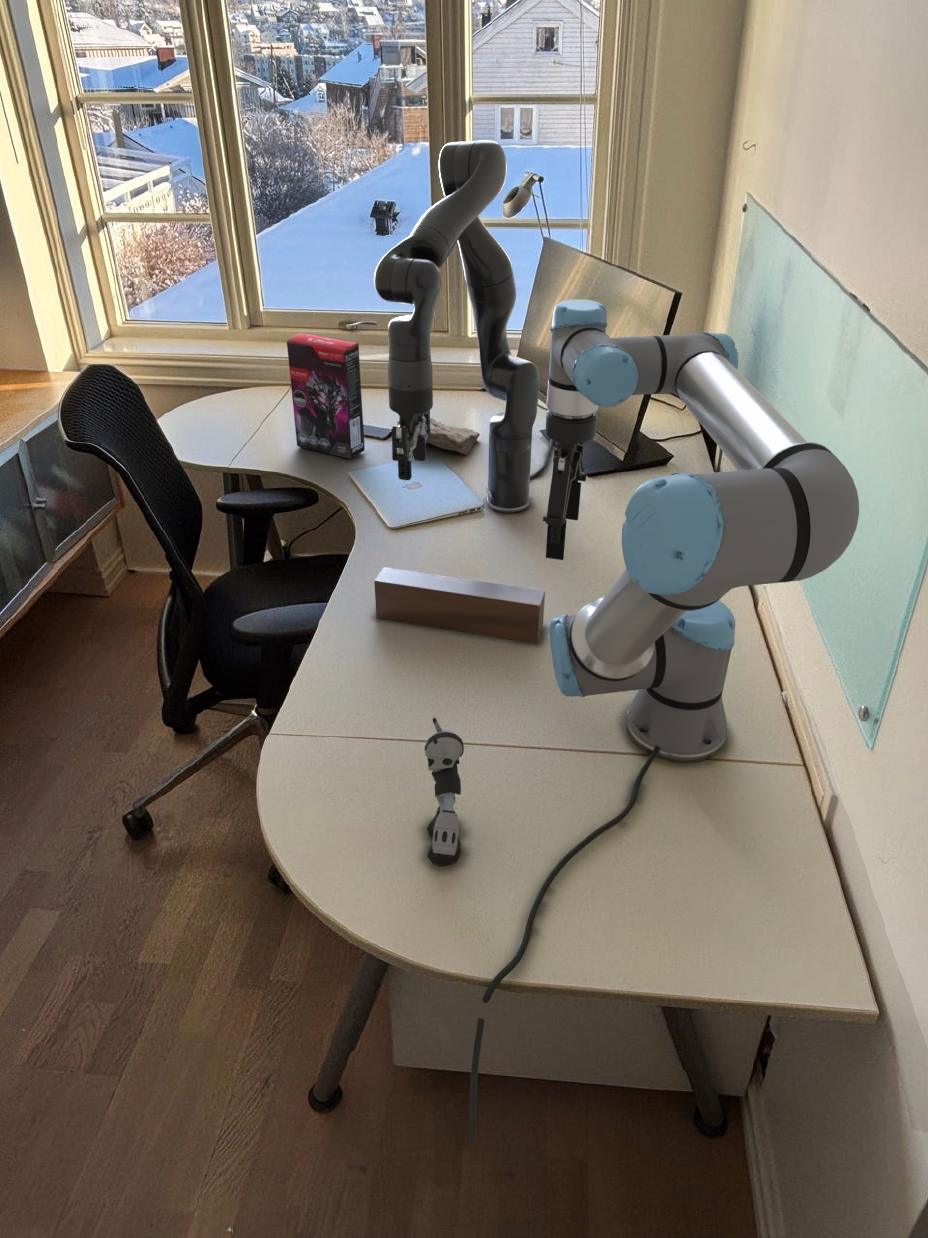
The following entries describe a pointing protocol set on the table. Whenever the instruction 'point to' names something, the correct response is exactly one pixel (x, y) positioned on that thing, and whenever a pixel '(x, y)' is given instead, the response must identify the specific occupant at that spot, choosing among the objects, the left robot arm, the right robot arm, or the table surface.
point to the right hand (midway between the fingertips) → (562, 537)
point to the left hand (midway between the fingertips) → (412, 469)
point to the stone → (451, 437)
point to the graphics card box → (326, 394)
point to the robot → (444, 794)
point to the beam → (460, 604)
